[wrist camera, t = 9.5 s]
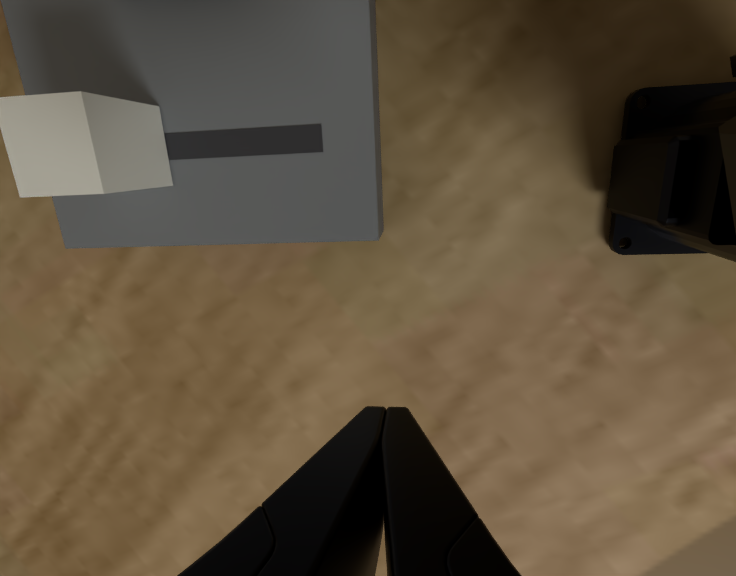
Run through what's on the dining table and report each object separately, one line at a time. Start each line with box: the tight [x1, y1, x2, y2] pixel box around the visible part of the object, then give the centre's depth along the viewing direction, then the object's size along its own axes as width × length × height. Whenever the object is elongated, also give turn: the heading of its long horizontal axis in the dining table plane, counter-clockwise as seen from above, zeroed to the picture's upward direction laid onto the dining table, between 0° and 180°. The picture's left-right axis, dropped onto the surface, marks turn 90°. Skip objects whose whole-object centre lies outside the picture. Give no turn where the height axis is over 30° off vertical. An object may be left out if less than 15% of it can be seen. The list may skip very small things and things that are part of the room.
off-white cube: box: [0, 91, 173, 197], centre depth 15 cm, size 3×3×4 cm
